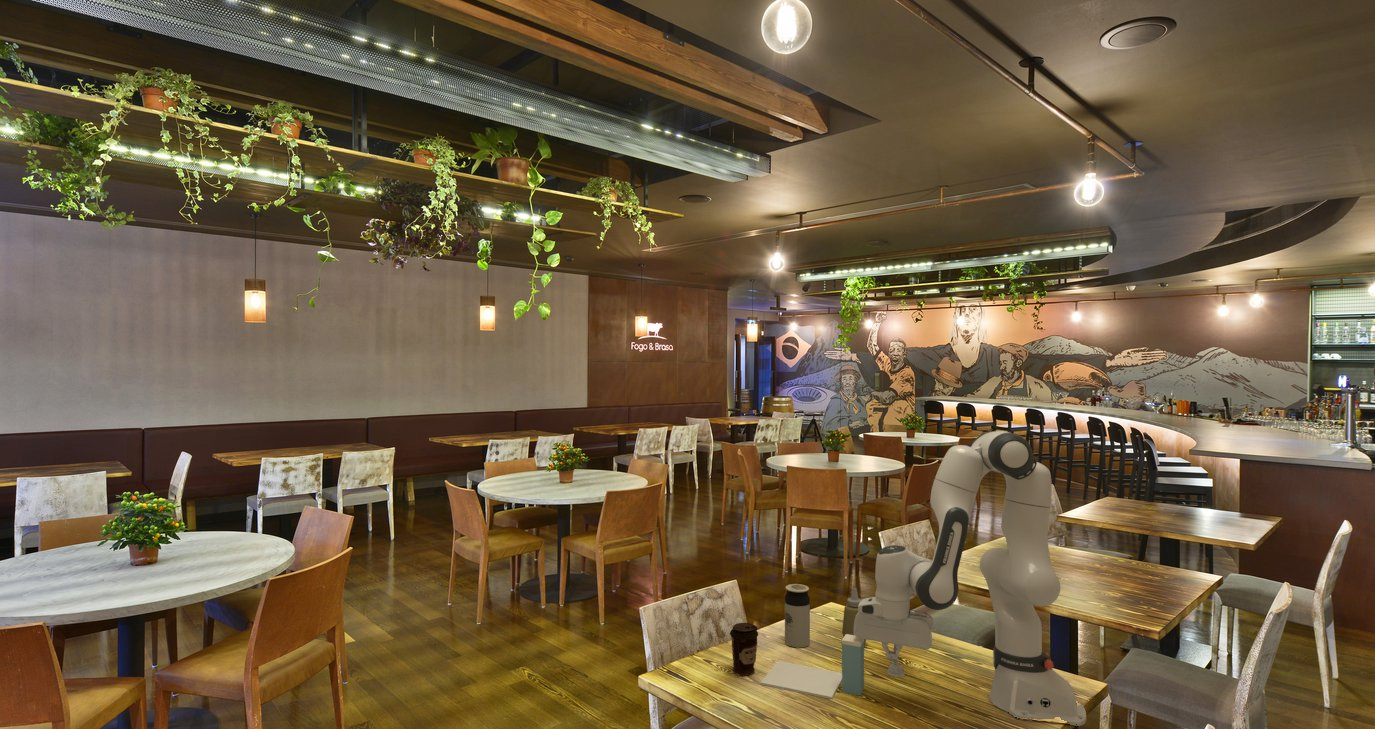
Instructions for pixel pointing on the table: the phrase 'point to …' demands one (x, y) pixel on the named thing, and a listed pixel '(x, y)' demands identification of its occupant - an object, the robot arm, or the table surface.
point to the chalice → (895, 667)
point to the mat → (803, 679)
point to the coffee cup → (744, 648)
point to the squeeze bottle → (851, 613)
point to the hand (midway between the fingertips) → (892, 659)
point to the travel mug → (797, 616)
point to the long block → (852, 665)
